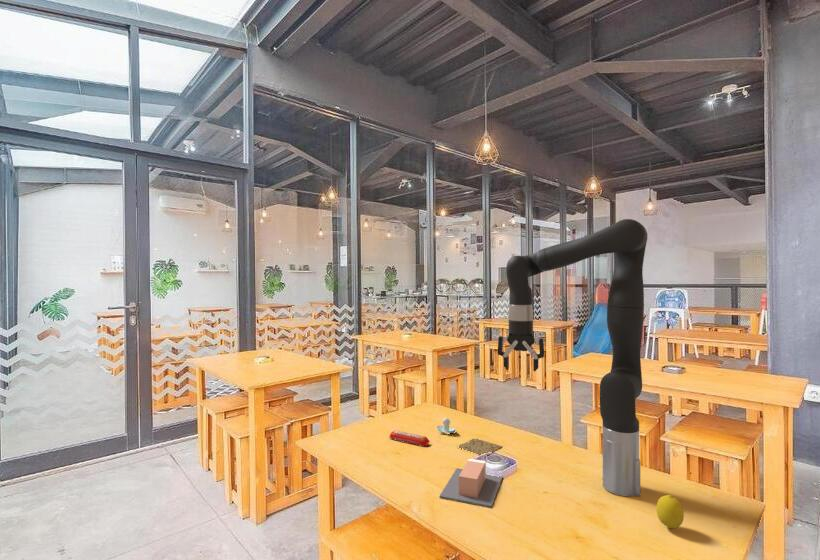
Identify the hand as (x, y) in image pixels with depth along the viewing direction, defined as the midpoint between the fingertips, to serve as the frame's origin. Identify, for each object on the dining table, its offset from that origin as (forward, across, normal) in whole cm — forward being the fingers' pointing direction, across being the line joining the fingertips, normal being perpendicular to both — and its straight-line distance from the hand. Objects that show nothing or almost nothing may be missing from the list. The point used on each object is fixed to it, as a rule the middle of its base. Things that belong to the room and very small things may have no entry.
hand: (520, 369), depth 136 cm
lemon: (+30, -37, +23) cm, 53 cm away
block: (+27, +11, +26) cm, 39 cm away
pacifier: (+30, +30, -18) cm, 46 cm away
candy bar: (+31, +40, -5) cm, 51 cm away
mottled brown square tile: (+31, +15, -9) cm, 35 cm away
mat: (+30, +11, +20) cm, 38 cm away
